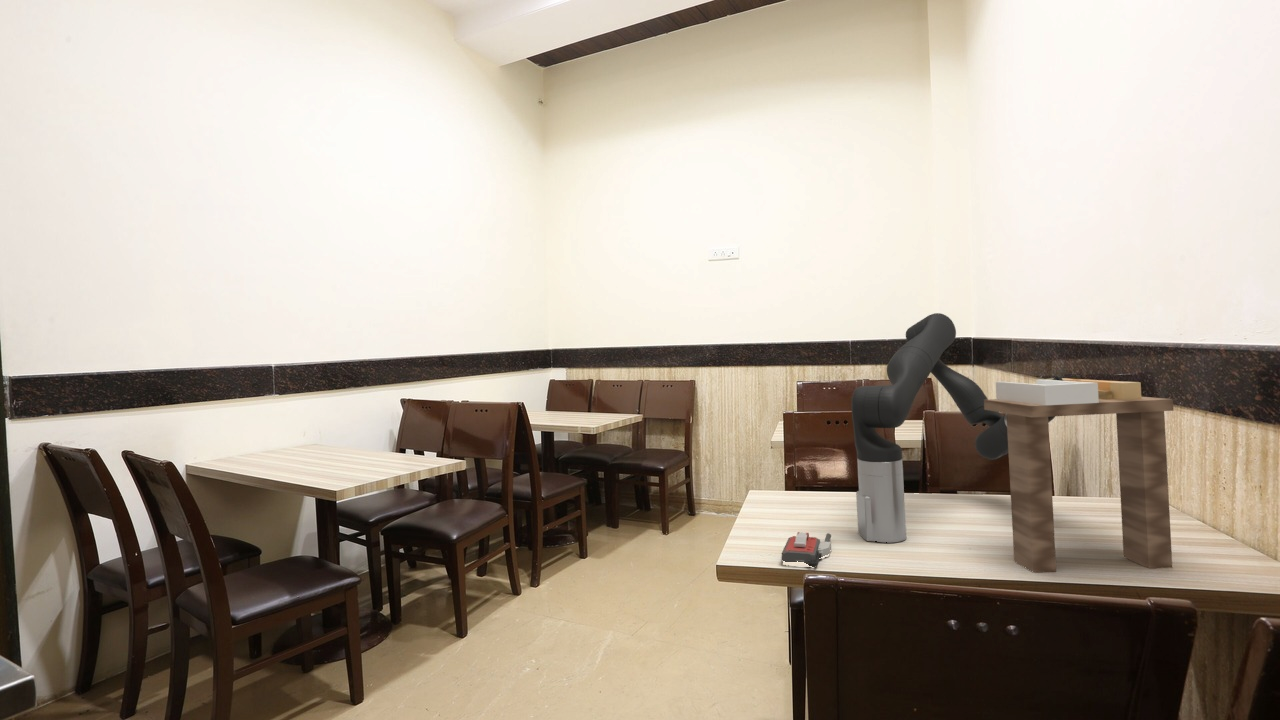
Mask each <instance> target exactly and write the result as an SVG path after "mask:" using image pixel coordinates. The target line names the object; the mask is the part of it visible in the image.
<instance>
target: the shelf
mask: <svg viewBox="0 0 1280 720" xmlns="http://www.w3.org/2000/svg"><path fill="white" fill-rule="evenodd" d="M1098 399H1099V403H1085V404H1065V405H1038V404H1031V403H1023V402H1015V401H1007V400H999V399H997V398H994V399H993V398H991V399H990V398H989V399H988V400H984V410H990V411H996V412H999V413H1002V414H1003V413H1004V414H1006V415H1007V434H1008V453H1007V454H1008V464H1009V465H1008V466H1009V468H1008V469H1009V484H1010V485H1009V487H1010V488H1009V489H1010V505H1011V525H1012V526H1011V527H1012V543H1013V561H1015V562H1014V563H1016V562H1017V563H1016V564H1018V565H1020V566H1021V565H1022V566H1021V567H1023V566H1024V567H1023V568H1025V567H1026V568H1027V569H1026V568H1025V569H1026V570H1028V569H1029V570H1028V571H1030V570H1031V571H1033V572H1036V573H1057V561H1056V541H1055V540H1056V539H1055V524H1054V522H1055V521H1054V506H1053V505H1054V504H1053V503H1054V501H1053V485H1052V483H1053V482H1052V464H1051V447H1050V445H1051V444H1050V428H1049V427H1050V425H1049V423H1048V417H1053V416H1055V417H1068V416H1069V417H1070V416H1073V417H1074V416H1091V415H1109V414H1112V415H1114V414H1116V432H1117V433H1116V435H1117V437H1116V438H1117V451H1118V452H1117V453H1118V454H1117V455H1118V471H1119V473H1118V474H1119V490H1120V491H1119V492H1120V510H1121V511H1120V513H1121V532H1122V533H1121V534H1122V547H1123V558H1124V559H1127V560H1129V561H1131V562H1134V563H1136V564H1138V565H1140V566H1143V567H1145V568H1148V569H1162V568H1161V567H1170V568H1173V557H1172V556H1173V555H1172V554H1173V553H1172V552H1173V551H1172V535H1171V532H1172V531H1171V520H1170V519H1171V515H1170V514H1171V513H1170V499H1169V498H1170V497H1169V496H1170V495H1169V481H1168V480H1169V477H1168V476H1169V475H1168V460H1167V459H1168V458H1167V456H1168V455H1167V442H1166V441H1167V440H1166V437H1167V436H1166V421H1165V412H1172V411H1174V399H1173V398H1165V397H1163V398H1162V397H1151V396H1150V397H1149V396H1141V399H1135V400H1117V399H1112V392H1111V391H1102V390H1098ZM1159 567H1160V568H1159ZM1031 571H1030V572H1031ZM1043 571H1044V572H1043ZM1033 572H1032V573H1033Z"/></svg>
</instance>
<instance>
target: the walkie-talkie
mask: <svg viewBox="0 0 1280 720" xmlns="http://www.w3.org/2000/svg"><path fill="white" fill-rule="evenodd" d="M831 537H832V535H831V534H830V533H826V535H825V539H824V541H822V540H821V539H819V538H818V537H815V536H810V534H809V532H805V531H804V532H803V531H802V532H801V531H798V532H797V533H796V535H794V536H793V535H792V536H790V537H788V539H787V541H786V543H785V545H784V547H783V550H782V552H781V561H782V560H783V561H785V562H797V561H798V562H804V563H806V564H808V565H809V566H812V567H815V566H816V567H817V566H818V563H819V558H821V557H823V556H825V555H828V554H829V553H830V554H831V552H830V550H831V551H832V542H831ZM816 567H815V568H816Z"/></svg>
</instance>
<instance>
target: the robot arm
mask: <svg viewBox="0 0 1280 720" xmlns="http://www.w3.org/2000/svg"><path fill="white" fill-rule="evenodd" d="M956 336H957V330H956V326H955V324H954V321H953V320H952V319H951V318H950V317H949V316H947V315H946V314H945V313H944V314H943V313H939V312H938V313H937V312H936V313H932V314H928V315H927V316H925V317H924V318H922V319H921V320H919V321H918V322H916V323H914V324H913V325H911V326H910V327H908V328H907V330H906V332H905V339H906V342H905V344H903V345H902V346H901V347H899V348H898V349H897V351H896V352H894V354H893V356H891V358H890V360H889V361H888V363H887V367H886V375H887V378H888V380H889V382H890V383H891V384H889V385H861V386H858V387H856V388H855V389H854V391H853V393H852V396H851V405H850V407H851V408H850V409H851V417H852V426H853V435H854V437H853V438H854V446H855V450H856V459H857V478H858V479H857V480H858V481H857V482H858V490H857V491H856V492H855V495H856V513H857V515H856V516H857V517H856V518H857V530H858V531H857V534H859V535H860V536H861V537H862V538H863V539H864V540H865V541H866V542H875V541H877V542H876V543H886V542H887V543H890V544H891V543H901V542H903V541H905V540H907V525H906V524H907V523H906V522H907V521H906V506H905V503H906V502H905V491H904V490H905V489H904V487H905V485H904V467H903V466H904V465H903V450H902V447H901V445H899V444H898V443H894V441H890V440H888V439H886V438H884V437H882V435H880V434H879V433H878V431H877V430H876V429H895V428H899V427H901V426H902V425H903V424H904V422H905V421H906V419H907V418H908V415H909V414H910V411H911V408H912V406H913V403H914V401H915V399H916V396H917V395H918V393H919V391H920V389H922V388H921V387H922V386H923V384H924V383H925V382H926V381H927V379H928V377H929V375H930V374H932V375H933V377H935V379H936V380H937V381H938V383H940V384H941V386H943V388H944V389H945V390H946V391H947V393H948V394H949V395H950V397H951V398H952V400H953V401H954V403H955V405H956V406H957V408H958V409H959V411H960V413H961V414H962V416H963V418H965V420H966V421H967V423H968V424H970V425H977V424H982V423H983V424H985V425H987V426H988V427H987V428H986V429H985V430H983V431H981V432H980V433H979V434H978V435H977V436H976V438H975V441H974V446H975V450H976V452H977V453H978V454H979V456H981V457H982V458H984V459H986V460H997V459H1000V458H1001V457H1003V456H1005V455H1007V454H1009V453H1008V434H1007V415H1006V413H1004V414H1003V415H1002V414H1001V412H996V411H990V410H984V400H989V399H988V397H987V396H986V394H985V393H984V391H983V389H982V388H981V387H980V386H979V385H978V383H976V382H975V381H974V380H972V379H971V378H969V377H967V376H966V375H963V374H962V373H959V372H958V371H956V370H954V369H952V368H951V367H949V366H948V365H947V364H945V363H944V362H943V361H942V360H941V359H940V358H941V356H942V354H943V352H944V351H945V350H947V349H948V347H949V346H951V344H952V343H954V342H955V340H956ZM1062 378H1063V377H1062V375H1056V376H1055V377H1054V379H1053V378H1051V379H1052V380H1059V381H1063V380H1062ZM1070 379H1082V377H1081V375H1079V374H1075V375H1074V376H1072V377H1071V378H1070ZM1055 418H1056V416H1053V417H1048V424H1049V423H1050V422H1052V421H1053V420H1054V419H1055ZM887 543H886V544H887Z"/></svg>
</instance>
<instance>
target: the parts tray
mask: <svg viewBox="0 0 1280 720" xmlns="http://www.w3.org/2000/svg"><path fill="white" fill-rule="evenodd" d="M1035 380H1036V383H1024V382H1011V381H995V393H996V398H995V399H999V400H1007V401H1015V402H1023V403H1031V404H1038V405H1065V404H1085V403H1099V399H1098V383H1092V382H1076V381H1059V380H1046V379H1035Z"/></svg>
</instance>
